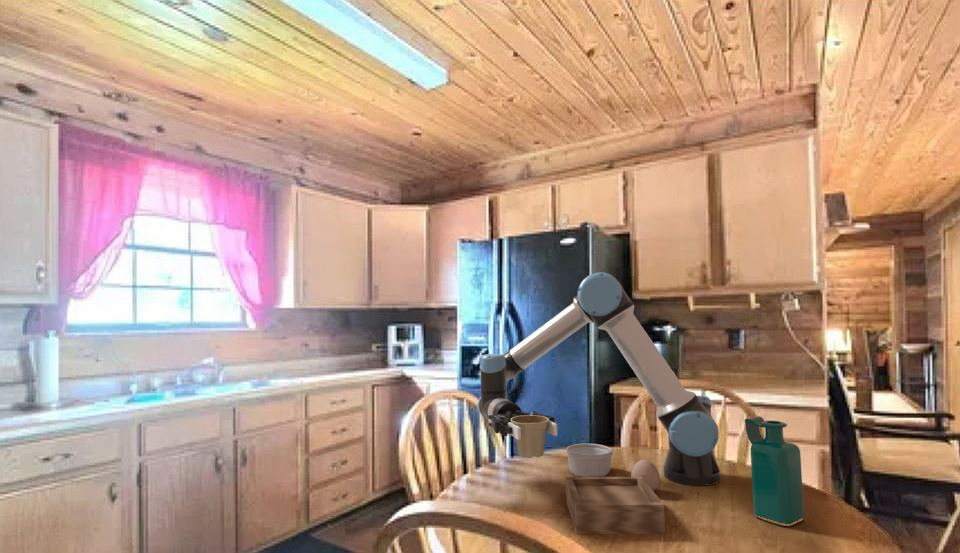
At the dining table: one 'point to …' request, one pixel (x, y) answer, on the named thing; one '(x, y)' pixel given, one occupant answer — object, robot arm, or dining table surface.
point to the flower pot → (531, 435)
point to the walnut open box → (614, 506)
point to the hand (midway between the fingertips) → (537, 431)
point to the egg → (646, 473)
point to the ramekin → (589, 460)
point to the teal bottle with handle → (775, 472)
